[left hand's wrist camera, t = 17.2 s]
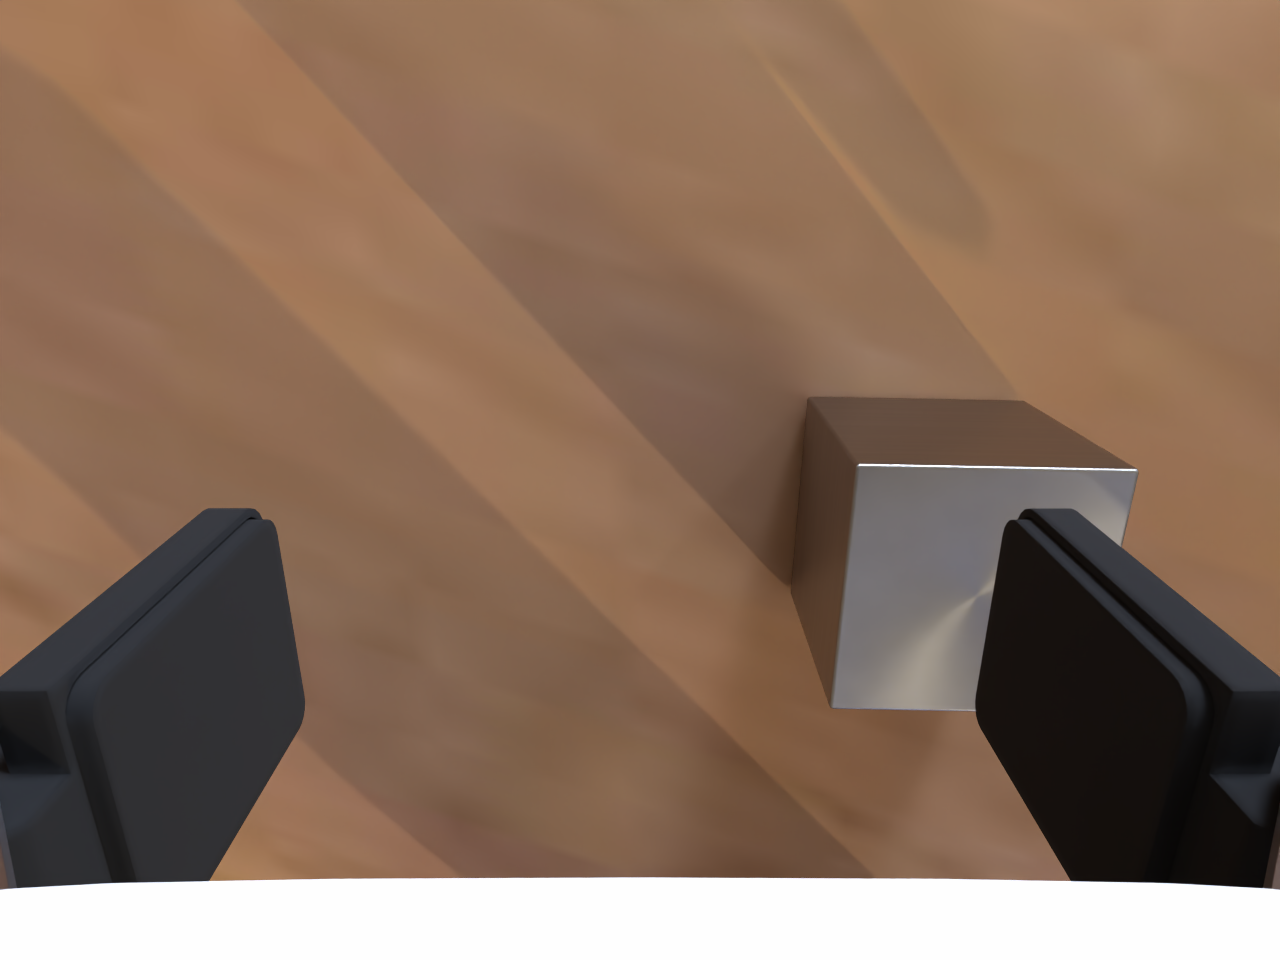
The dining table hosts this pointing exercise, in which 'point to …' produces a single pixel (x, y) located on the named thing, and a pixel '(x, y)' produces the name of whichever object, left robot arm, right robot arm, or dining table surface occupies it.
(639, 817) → the dining table surface
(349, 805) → the dining table surface
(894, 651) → the silver metal cube
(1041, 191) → the dining table surface
